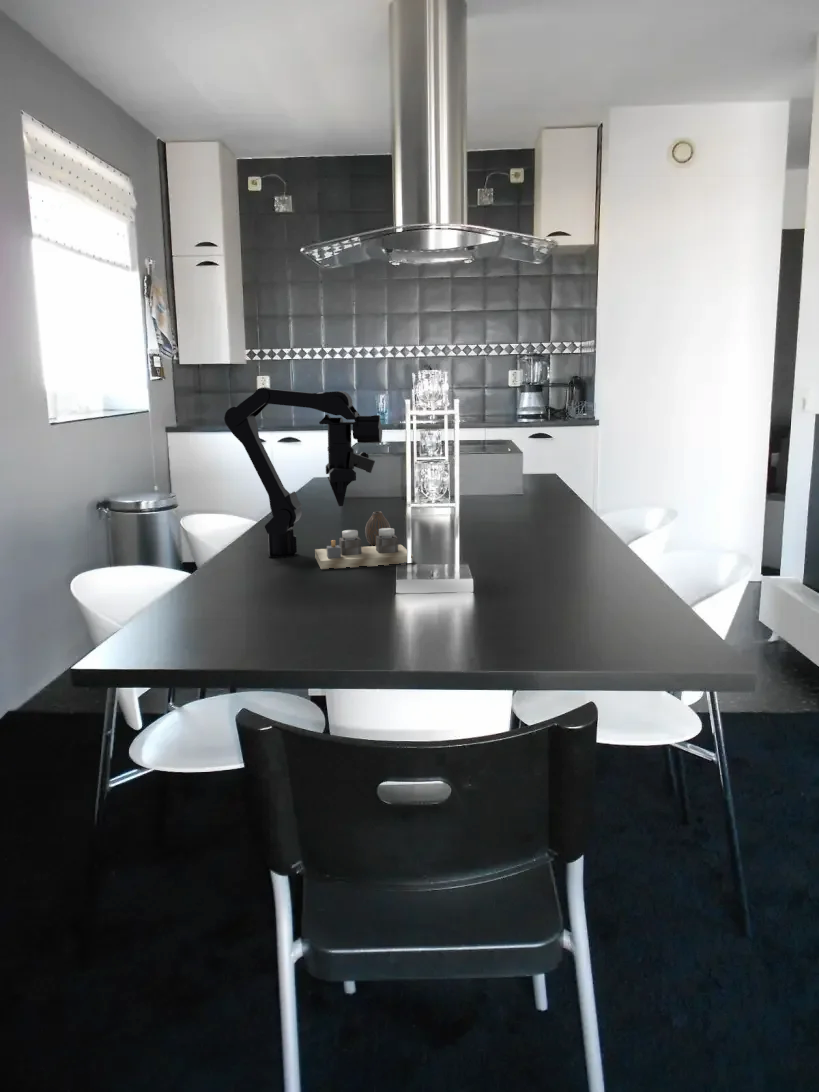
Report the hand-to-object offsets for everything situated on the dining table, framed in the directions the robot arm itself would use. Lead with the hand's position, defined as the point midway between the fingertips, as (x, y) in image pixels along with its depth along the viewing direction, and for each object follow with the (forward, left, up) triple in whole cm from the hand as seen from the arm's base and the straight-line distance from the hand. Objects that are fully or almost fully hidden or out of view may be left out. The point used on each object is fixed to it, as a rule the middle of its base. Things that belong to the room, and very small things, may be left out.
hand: (340, 506), depth 206 cm
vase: (+11, +12, -13) cm, 21 cm away
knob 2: (+10, -7, -10) cm, 16 cm away
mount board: (+4, -7, -13) cm, 15 cm away
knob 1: (+1, -7, -10) cm, 12 cm away
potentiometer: (-3, -11, -11) cm, 16 cm away
